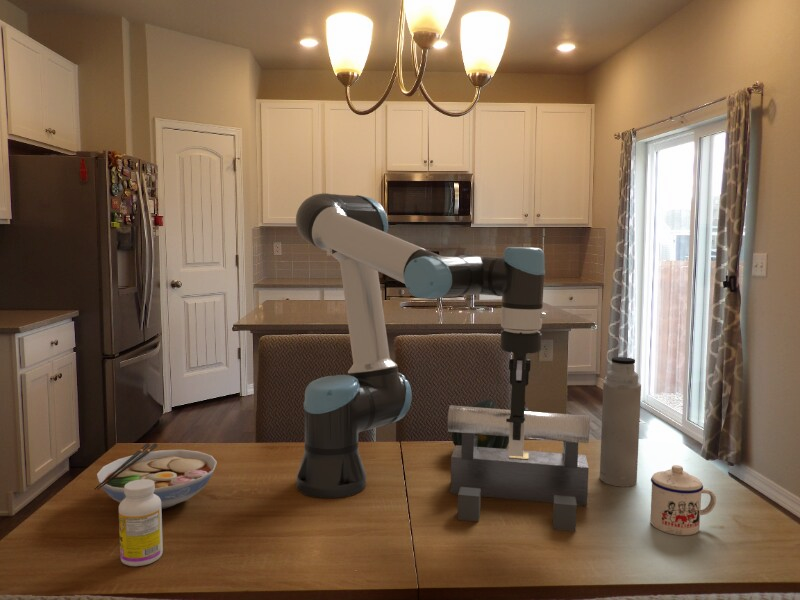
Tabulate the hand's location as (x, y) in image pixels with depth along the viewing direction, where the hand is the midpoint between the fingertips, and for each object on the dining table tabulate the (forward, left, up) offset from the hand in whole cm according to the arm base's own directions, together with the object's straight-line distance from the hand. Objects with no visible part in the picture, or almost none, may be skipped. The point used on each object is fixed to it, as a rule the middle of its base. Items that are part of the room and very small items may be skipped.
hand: (516, 450), depth 123 cm
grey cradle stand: (0, +14, -14) cm, 20 cm away
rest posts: (0, 0, -14) cm, 14 cm away
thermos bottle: (+22, +27, -14) cm, 38 cm away
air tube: (0, 0, +3) cm, 3 cm away
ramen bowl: (-71, -8, -14) cm, 73 cm away
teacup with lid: (+31, +5, -14) cm, 35 cm away
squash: (-10, +37, -14) cm, 41 cm away
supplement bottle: (-61, -29, -14) cm, 69 cm away
